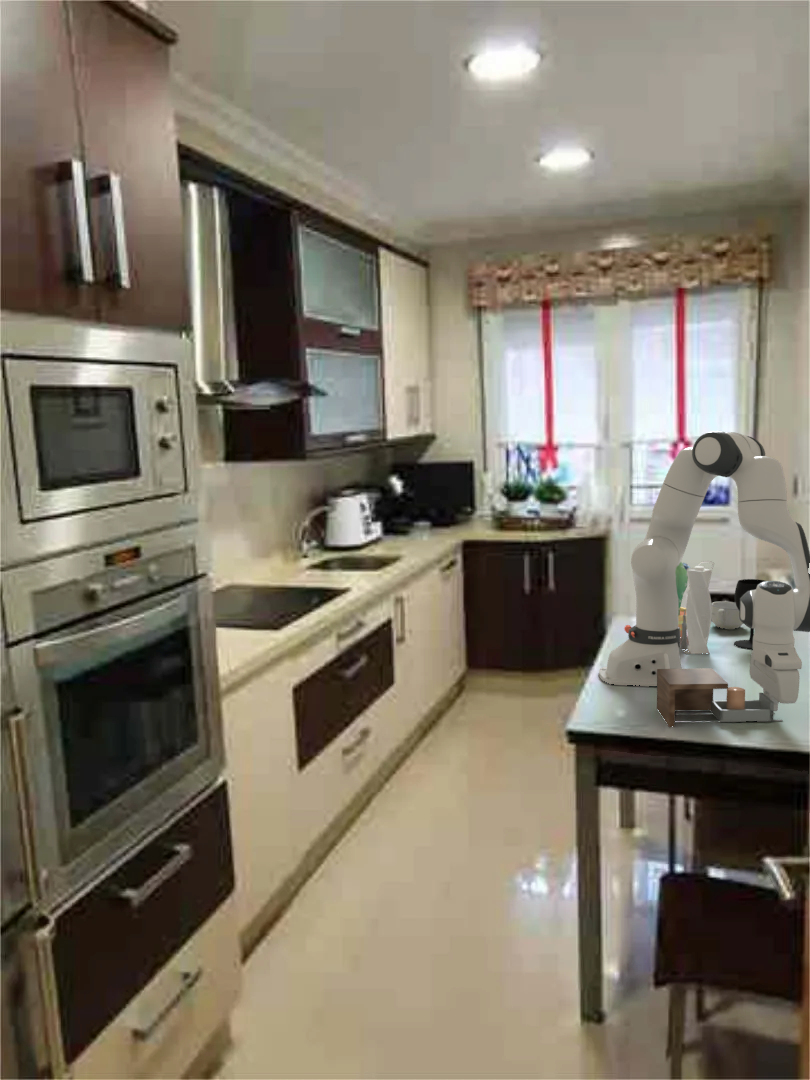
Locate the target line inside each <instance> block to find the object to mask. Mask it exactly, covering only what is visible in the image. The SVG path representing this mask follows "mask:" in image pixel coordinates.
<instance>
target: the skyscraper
mask: <svg viewBox="0 0 810 1080" xmlns="http://www.w3.org/2000/svg"><path fill="white" fill-rule="evenodd" d="M704 563H705V564H706V563H707V564H708V563H709V564H712V565H711V567H710V569H709V568H705V566H704V565H702V564H704ZM714 566H715V562H713V560H703V561H701V562H699V563H698V564H697V565H695V566H694V567H690V568H688V569H687V576H688V582H687V583H688V592H687V597H686V605H685V608H686V615H685V609H684V615H683V623H682V637H681V638H680V640H681V642H680V650H681V649H685V650H686V649H688V650H687V651H685V650H683V651H685V652H683V651H682V652H683V653H684V654H685V655H710V651H709V648H708V641H709V636H710V630H711V625H712V619H711V616H712V605H711V604H712V599H711V593H710V590H709V586H710V582H711V577H712V574H713V573H712V572H713V568H714ZM686 627H687V629H686ZM687 641H688V642H687ZM688 651H689V652H688ZM702 653H703V654H702ZM706 653H708V654H706Z"/></svg>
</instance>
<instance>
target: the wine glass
mask: <svg viewBox="0 0 810 1080" xmlns="http://www.w3.org/2000/svg"><path fill="white" fill-rule="evenodd" d="M765 581H766V580H763V579H759V578H758V579H753V578H746V579H745V578H744V579H739V580H737V583H736V587H735V590H734V603H736V606H737V608H738V610H739V611H740V598H741V597H742V596H743V595H744V594H745V593H746V592H747V591H751V590H755V589H756V588H757V585H758V584H760V583H762V582H765ZM749 629H750V630H749V631H750V634H749V638H748V639H742V640H741V639H740V640H736V641H734V642H733V646H735V645H736V646H738V647H737V648H739V647H741V648H740V649H743V648H747V649H746V650H750V649H753V635H754V632H755V629H753V628H749ZM736 646H735V647H736Z"/></svg>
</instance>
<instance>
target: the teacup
mask: <svg viewBox="0 0 810 1080" xmlns="http://www.w3.org/2000/svg"><path fill="white" fill-rule="evenodd" d="M711 607H712V616H711V623H712V624H714V625H715V626H716V627H717V628H719V627H720V628H719V629H723V628H725V629H724V630H736V629H735V628H737V629H738V628H739V627H741V626H743V624H744V623H743V622H741V621H740V619H739V610H738V608H737V606H736V603H735V601H734V602H733V601H724V600H723V601H722V600H721V601H714V602H711Z"/></svg>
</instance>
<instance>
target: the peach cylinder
mask: <svg viewBox="0 0 810 1080" xmlns="http://www.w3.org/2000/svg"><path fill="white" fill-rule="evenodd" d="M726 700H727V707H726V710H731V709H745V700H746V689H745V688H743V687H739V686H728V689H726Z"/></svg>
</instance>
